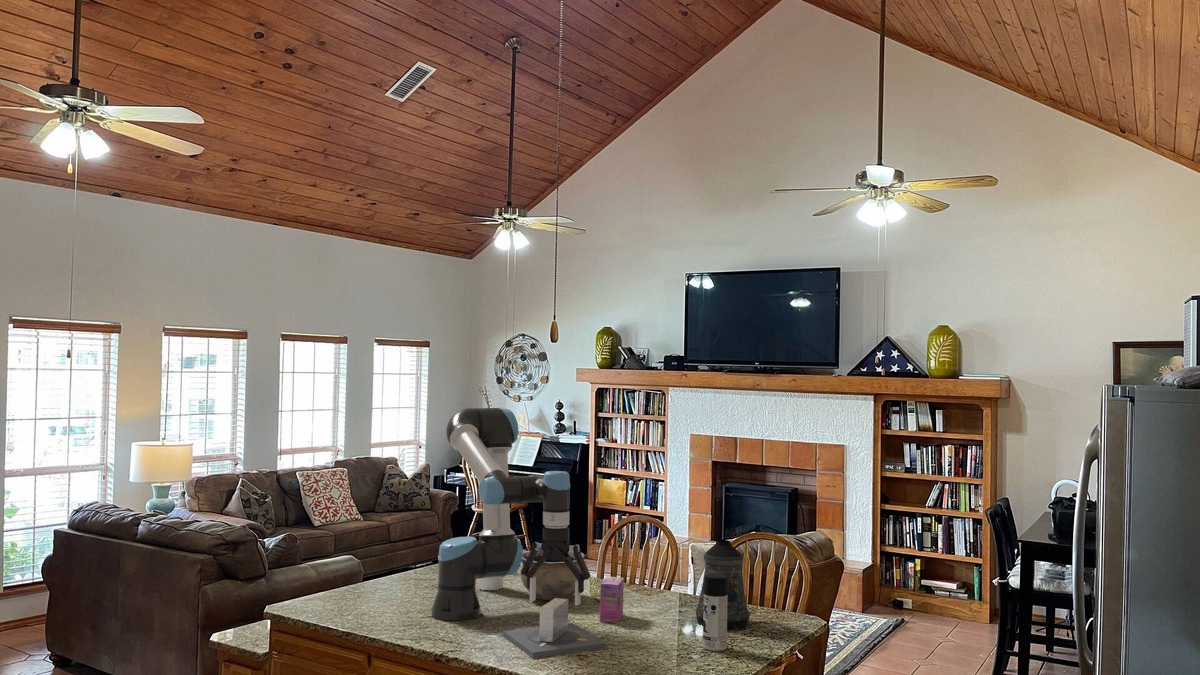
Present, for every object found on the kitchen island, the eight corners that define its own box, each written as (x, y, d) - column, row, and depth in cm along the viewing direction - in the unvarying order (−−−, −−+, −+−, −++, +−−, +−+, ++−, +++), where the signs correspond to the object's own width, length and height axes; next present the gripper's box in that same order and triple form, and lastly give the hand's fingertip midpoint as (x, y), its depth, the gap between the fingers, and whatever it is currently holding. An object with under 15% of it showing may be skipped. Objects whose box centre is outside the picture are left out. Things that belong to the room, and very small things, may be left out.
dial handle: (554, 629, 256) (555, 596, 257) (567, 631, 255) (568, 597, 255) (539, 640, 245) (539, 605, 245) (552, 642, 243) (553, 607, 244)
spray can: (700, 644, 250) (701, 573, 251) (724, 644, 250) (725, 573, 252) (705, 652, 243) (706, 578, 244) (729, 651, 244) (730, 578, 245)
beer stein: (713, 633, 262) (714, 547, 263) (681, 616, 280) (682, 536, 281) (760, 627, 269) (761, 544, 270) (726, 612, 286) (727, 534, 288)
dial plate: (502, 636, 254) (503, 630, 255) (572, 628, 264) (572, 622, 264) (532, 658, 235) (532, 651, 235) (606, 648, 245) (606, 642, 245)
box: (617, 623, 270) (618, 584, 271) (599, 622, 272) (600, 583, 272) (623, 615, 281) (624, 577, 281) (605, 613, 282) (606, 576, 282)
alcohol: (478, 585, 317) (480, 501, 318) (502, 585, 318) (505, 501, 319) (477, 591, 308) (479, 504, 310) (503, 591, 309) (505, 504, 310)
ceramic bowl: (596, 597, 303) (597, 553, 304) (560, 610, 285) (561, 563, 285) (544, 588, 315) (545, 545, 316) (506, 600, 296) (507, 555, 297)
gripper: (510, 525, 252) (509, 601, 250) (593, 530, 244) (592, 609, 242) (520, 522, 259) (519, 596, 257) (601, 526, 251) (601, 603, 250)
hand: (555, 602), depth 250 cm, fingers open, 13 cm apart
